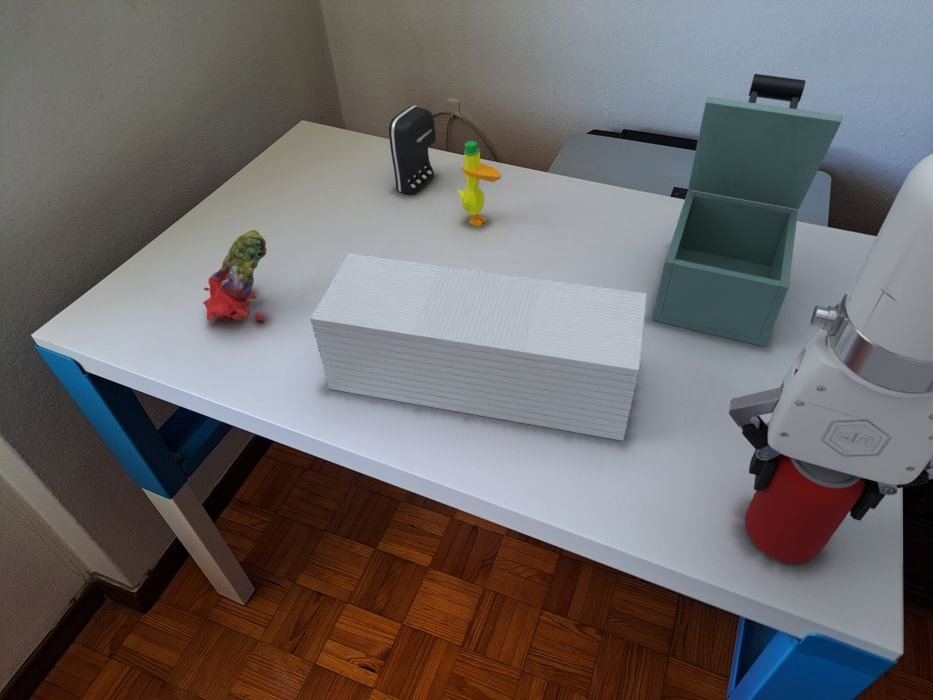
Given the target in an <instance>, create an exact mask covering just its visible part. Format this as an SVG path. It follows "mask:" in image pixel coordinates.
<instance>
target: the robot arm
mask: <svg viewBox="0 0 933 700" xmlns="http://www.w3.org/2000/svg"><path fill="white" fill-rule="evenodd" d="M810 326H814V327H817V328H818V327H819V329H818V330H817V331H816V333H814V335H813V336H812V337H811V338H810V339H809V340H808V342H807V343H806V344H805V346H804V347H803V348H802V350H800V352H799V354H798V355H797V356H796V358H795V359H794V361H793V362H792V364H791V365H790V367H789V369H788V371H787V372H786V373H785V375H784V377H783V379H782V381H781V382H780V384H779V386H778V387H776V388H773V389H767V390H764V391H763V390H762V391H759V392H754V393H751V394H747V395H742V396H738V397H734V398H732V399H731V400H730V405H729V409H728V415H729V416H730V417H731V419H732V420H733V422H734V423H735V424H736V425H737V427H739V428H740V429H741V435H743V437H744V438H745V439H746V440H747V442H748V443H749V444H750V445H751V446H752V447H753V448H754V449H755V450H754V453H753V454H752V457H751V459H750V462H749V466H748V474H750V475H754V483H753V490H754V491H756V490H757V491H761V490H762V491H763V490H764V489H765V487H766V485H767V483H768V481H769V479H770V477H771V475H772V473H773V471H774V469H775V467H776V463H777V456H778V455H780V454H783V455H786V456H788V457H791V458H794V459H798V460H801V461H804V462H808V463H811V464H815V465H818V466H822V467H825V468H829V469H833V470H836V471H840V472H843V473H847V474H851V475H855V476H858V477H862V478H866V484H865V488H864V491H863V493H862V494H861V496H860V497H859V498H858V500H857V501H856V503H855V504H854V506H853V507H852V509H851V510H850V512H849V515H850V517H851V518H852V519H853V520H854V521H855V520H856V521H858V522H861V521H862V520H863V518H864V517H865V516H866V514H867V513H868V512H869V510H870V509H872V510H876V509H877V507H878V506H879V504H880V503H881V502H882V500H883V499H884V498H885V496H895V495H896V494H898V492H899V489H902V488H909V487H916V486H922V485H926V484H928V483H929V482H930V480H932V479H933V153H931V154H929V155H927V156H926V157H923V158H922V159H921V160H920V161H919V162H918V163H917V164H916V165H914V166H913V167H912V169H911V170H910V171H909V173H908V175H907V176H906V178H905V180H904V181H903V183H902V185H901V187H900V189H899V191H898V193H897V195H896V197H895V199H894V201H893V203H892V204H891V207H890V209H889V210H888V213H887V215H886V217H885V219H884V221H883V223H882V225H881V227H880V229H879V231H878V233H877V235H876V237H875V240H874V241H873V242H872V245H871V247H870V249H869V252H868V253H867V255H866V258H865V259H864V261H863V263H862V265H861V267H860V269H859V272H858V273H857V275H856V277H855V280H854V282H853V284H852V286H851V288H850V290H849V291H848V293H845V294H844V295H843V297H842V299H841V301H840V303H837V304H836V305H835V306H828V307H824V306H820V305H816V306H815V307H814V310H813V312H812V315H811V318H810ZM769 414H771V417H770V420H769V421H768V422H766V421H764V420H763V419H762V417H761V416H762V415H769Z"/></svg>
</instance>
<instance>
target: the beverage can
mask: <svg viewBox="0 0 933 700" xmlns="http://www.w3.org/2000/svg"><path fill="white" fill-rule="evenodd" d="M865 484H866V478H862V477H858V476H855V475H851V474H847V473H843V472H840V471H836V470H833V469H829V468H825V467H822V466H818V465H815V464H811V463H808V462H804V461H801V460H798V459H794V458H791V457H788V456H786V455H783V454H780V455H778V456H777V463H776V467H775V469H774V471H773V473H772V475H771V477H770V479H769V481H768V483H767V485H766V487H765V489H764V490H763V491H762V490H761V491H757V490H755V492H754V494H753V495H752V498H751V500H750V503H749V505H748V507H747V510H746V511H745V515H744V525H745V529H746V532H747V534H748V537H749V538H750V540H751V541H752V543H753V544H754V545H755V546H756V547H757V548H758V549H759V550H760V551H761V552H762V553H764V554H765V555H767V556H769V557H770V558H773V559H774V560H777V561H780V562H784V563H788V564H803V563H807V562H810V561H811V560H813V559H815V558H816V557H817V556H819V554H820V553H821V552H822V551H823V549H824V548H825V546H826V545H827V544H828V543H829V541H830V539H831V538H832V537H833V535H834V534H835V533H836V532H837V530H838V529H839V528H840V526H841V524H842V523H843V522H844V521H845V519H846V518H847V516H848V514H850V510H851V509H852V507H853V506H854V504H855V503H856V501H857V500H858V498H859V497H860V496H861V494H862V493H863V491H864V488H865Z"/></svg>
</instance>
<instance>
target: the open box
mask: <svg viewBox="0 0 933 700" xmlns="http://www.w3.org/2000/svg"><path fill="white" fill-rule="evenodd" d="M798 214H799V209H793V208H788V207H782V206H777V205H771V204H765V203H760V202H754V201H749V200H743V199H738V198H732V197H727V196H721V195H716V194H710V193H705V192H699V191H694V190H687V191H686V195H685V198H684V202H683V205H682V208H681V210H680V214H679V217H678V220H677V223H676V227H675V230H674V233H673V236H672V239H671V242H670V244H669V245H670V246H669V248H668V251H667V254H666V258H665V261H664V265H663V270H662V274H661V278H660V281H659V282H660V283H659V288H658V292H657V296H656V301H655V305H654V309H653V314H652V317H651V320H652V321H654V322H659V323H663V324H667V325H671V326H675V327H678V328H679V327H680V328H684V329H688V330H693V331H697V332H701V333H705V334H709V335H713V336H716V337H722V338H726V339H730V340H734V341H739V342H743V343H746V344H747V343H748V344H751V345H754V346H760V347H764V348H765V346H766V345H767V343H768V340H769V337H770V335H771V333H772V330H773V327H774V325H775V323H776V320H777V319H778V315H779V313H780V310H781V308H782V306H783V303H784V301H785V298H786V295H787V293H788V290H789V289H790V282H791V281H790V280H791V272H792V263H793V257H794V256H793V255H794V246H795V240H796V239H795V238H796V230H797V223H798V216H799V215H798Z"/></svg>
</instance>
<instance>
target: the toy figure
mask: <svg viewBox="0 0 933 700" xmlns="http://www.w3.org/2000/svg"><path fill="white" fill-rule="evenodd" d="M477 144H478V143H477V142H476V141H475V140H469V141H466V142H465V143H464V148H465V149H464V150H463V154H464V155H463V161H464V163H463V166H462V167H461V168H460V171H462V172H463V173H464V175H465V177H464V178H465V180H466V181H465V182H466V188H465V190H462V189H461V190H460V189H456V192H457V193H458V195H459V197H460V198H461V199H462V200H461V205H462V209H464V210H465V211H466V212H467V213H468V214H469V215H470V220H469V221H468V224H470V225H472V226H474V227H478V228H479V227H480V228H481V227H482V226H483V224H486V222H487V218H486V217H485V216H484V215H482V214H480V212H482V210H483V209H484V206H485V193H484V191H482V190H481V189H480V187H479V185H480V180H481V181H485V182H490V183H495V182H497V181H498V180H500V179H501V177H502V173H501V171H499V169H497V168H495V167H493V166H490V165H488V164H485V163H482V162H481V149H480V148H479V147H478V146H477Z"/></svg>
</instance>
